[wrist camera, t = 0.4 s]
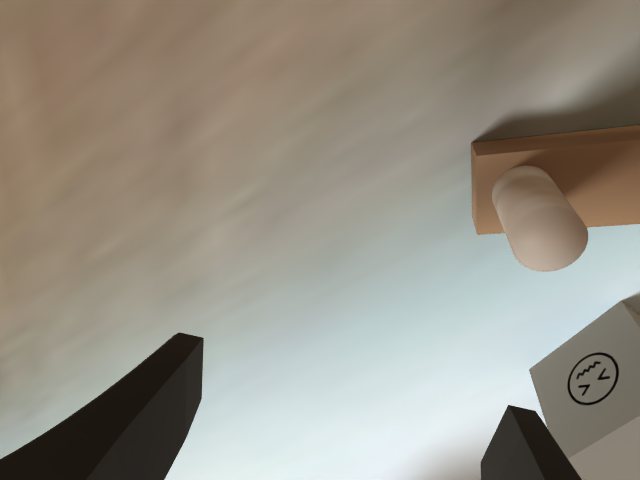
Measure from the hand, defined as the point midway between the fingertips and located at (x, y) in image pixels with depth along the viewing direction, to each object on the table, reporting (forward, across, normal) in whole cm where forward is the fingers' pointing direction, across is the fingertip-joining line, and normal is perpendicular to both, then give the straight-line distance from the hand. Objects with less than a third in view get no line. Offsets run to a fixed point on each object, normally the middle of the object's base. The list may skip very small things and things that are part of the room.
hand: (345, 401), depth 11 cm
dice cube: (+10, -12, +4) cm, 16 cm away
